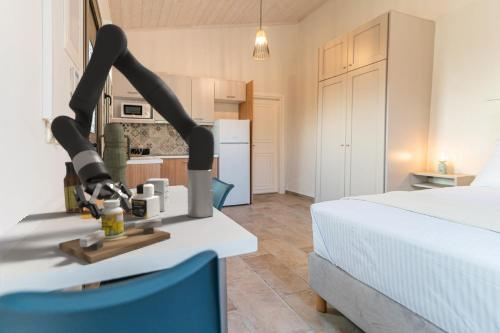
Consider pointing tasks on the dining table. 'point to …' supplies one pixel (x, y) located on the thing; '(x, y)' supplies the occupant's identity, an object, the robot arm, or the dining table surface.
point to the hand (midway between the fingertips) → (114, 214)
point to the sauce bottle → (71, 188)
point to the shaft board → (115, 241)
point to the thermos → (115, 152)
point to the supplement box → (161, 191)
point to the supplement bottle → (112, 219)
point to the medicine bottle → (145, 202)
